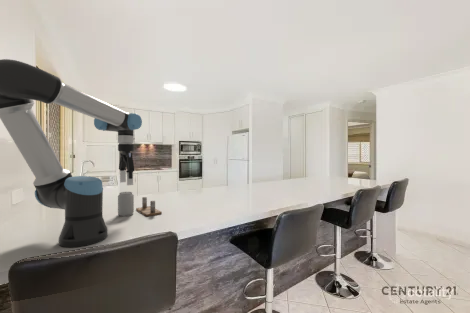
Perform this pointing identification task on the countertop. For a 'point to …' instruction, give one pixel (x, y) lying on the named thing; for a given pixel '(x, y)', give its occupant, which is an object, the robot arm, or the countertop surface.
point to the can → (125, 203)
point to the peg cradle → (148, 208)
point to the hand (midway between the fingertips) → (126, 183)
